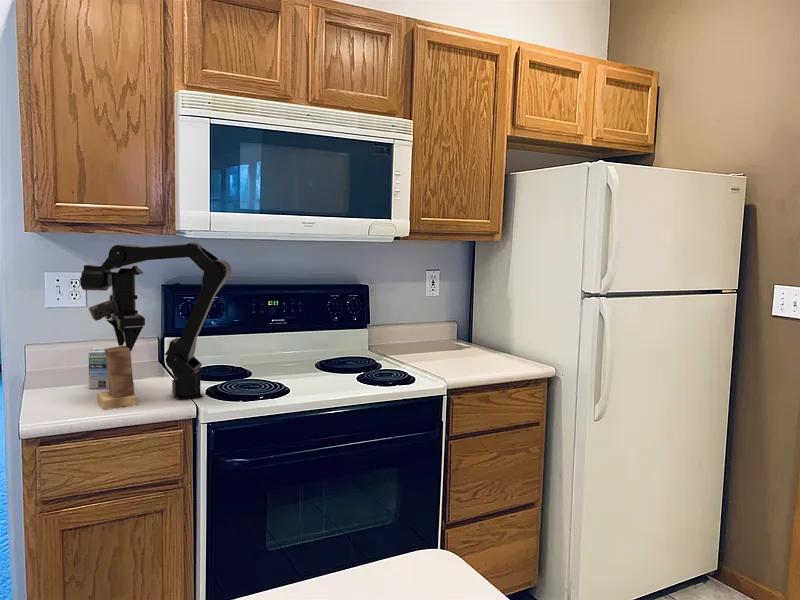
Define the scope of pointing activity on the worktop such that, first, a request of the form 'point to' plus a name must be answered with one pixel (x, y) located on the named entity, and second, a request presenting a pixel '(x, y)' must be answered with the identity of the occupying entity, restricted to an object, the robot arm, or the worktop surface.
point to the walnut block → (119, 371)
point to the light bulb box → (98, 368)
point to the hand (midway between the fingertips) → (124, 348)
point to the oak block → (115, 400)
